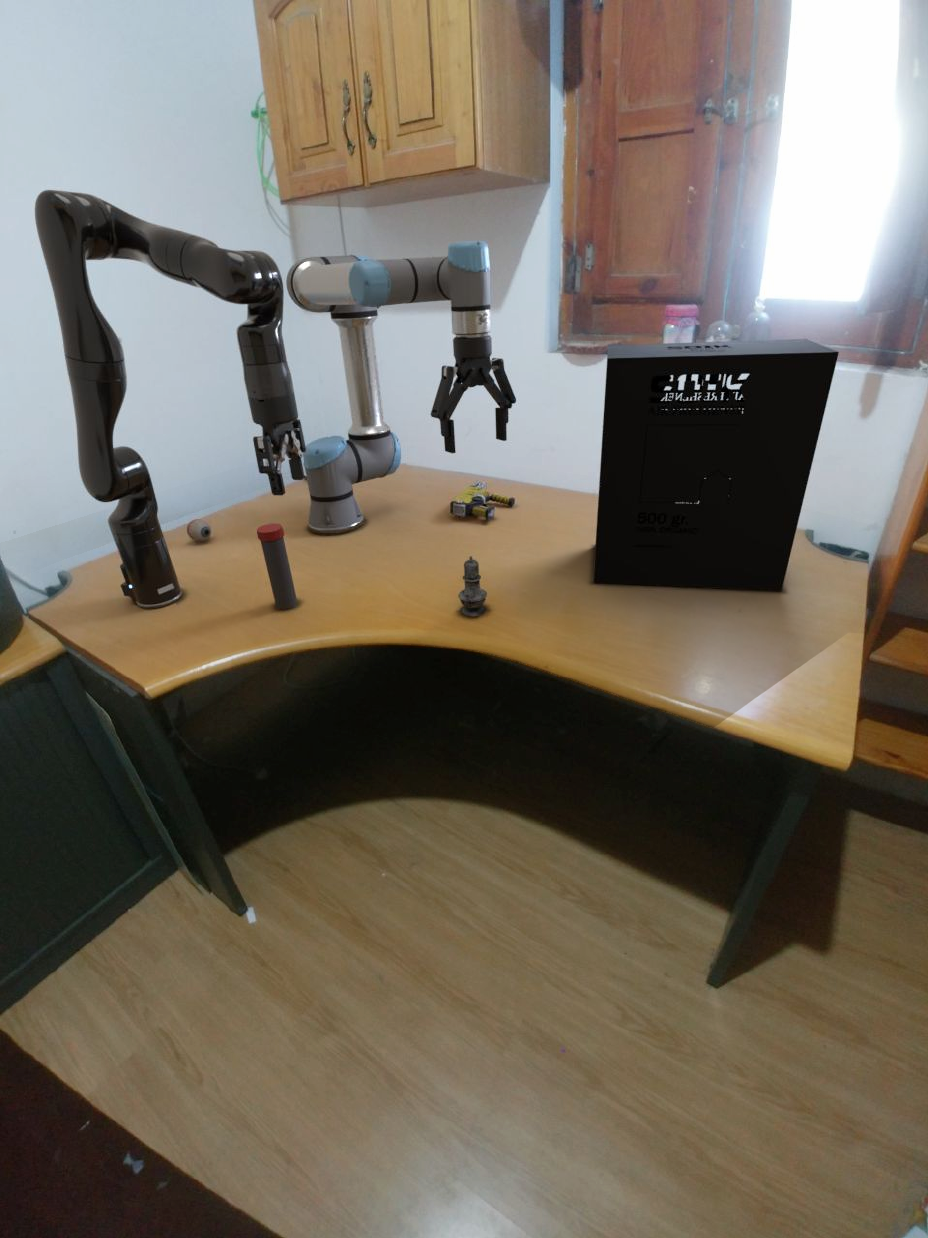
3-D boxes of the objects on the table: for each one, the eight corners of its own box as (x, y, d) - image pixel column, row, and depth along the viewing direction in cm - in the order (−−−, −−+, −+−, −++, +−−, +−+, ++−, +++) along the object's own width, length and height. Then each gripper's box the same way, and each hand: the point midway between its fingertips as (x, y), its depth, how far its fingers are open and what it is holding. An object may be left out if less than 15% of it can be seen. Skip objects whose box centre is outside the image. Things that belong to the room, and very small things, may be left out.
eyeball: (200, 546, 160) (194, 525, 157) (185, 542, 163) (179, 521, 160) (219, 538, 165) (213, 517, 162) (204, 535, 168) (198, 514, 165)
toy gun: (523, 485, 181) (476, 478, 185) (501, 509, 161) (448, 500, 165) (521, 500, 184) (475, 493, 187) (499, 525, 163) (447, 517, 167)
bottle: (278, 600, 131) (261, 526, 123) (299, 599, 131) (283, 525, 123) (274, 610, 127) (256, 535, 119) (295, 609, 128) (279, 533, 119)
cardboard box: (760, 550, 140) (805, 338, 118) (781, 591, 123) (838, 351, 101) (595, 545, 148) (608, 345, 125) (593, 582, 131) (607, 358, 108)
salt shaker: (485, 617, 120) (483, 562, 114) (456, 616, 121) (452, 561, 115) (490, 603, 125) (488, 550, 119) (462, 602, 126) (459, 549, 120)
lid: (261, 532, 124) (259, 524, 123) (286, 531, 124) (284, 522, 123) (255, 542, 119) (253, 533, 118) (281, 540, 120) (279, 531, 119)
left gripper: (268, 384, 106) (286, 474, 114) (228, 400, 94) (251, 500, 102) (308, 383, 105) (323, 475, 113) (273, 399, 93) (292, 500, 101)
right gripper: (429, 342, 108) (437, 460, 118) (533, 329, 120) (532, 437, 131) (407, 340, 113) (417, 454, 124) (508, 328, 125) (510, 432, 136)
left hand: (289, 486), depth 108 cm, fingers open, 8 cm apart
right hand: (476, 445), depth 127 cm, fingers open, 13 cm apart
